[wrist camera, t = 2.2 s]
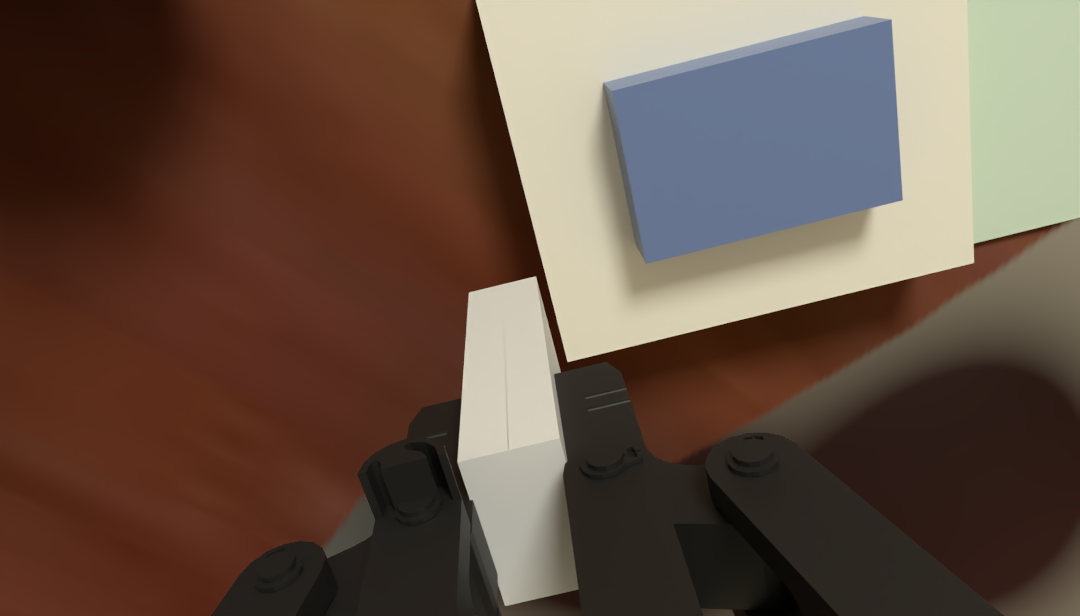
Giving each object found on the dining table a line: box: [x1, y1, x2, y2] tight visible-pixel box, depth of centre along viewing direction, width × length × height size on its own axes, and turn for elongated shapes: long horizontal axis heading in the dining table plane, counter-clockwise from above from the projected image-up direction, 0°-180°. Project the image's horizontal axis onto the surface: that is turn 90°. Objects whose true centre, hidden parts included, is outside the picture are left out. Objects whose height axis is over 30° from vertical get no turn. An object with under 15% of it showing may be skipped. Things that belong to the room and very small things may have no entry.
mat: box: [967, 0, 1080, 243], centre depth 32 cm, size 12×16×1 cm
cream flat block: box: [476, 0, 974, 362], centre depth 30 cm, size 16×14×4 cm
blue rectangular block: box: [603, 16, 903, 264], centre depth 28 cm, size 9×6×2 cm, turn 104°
